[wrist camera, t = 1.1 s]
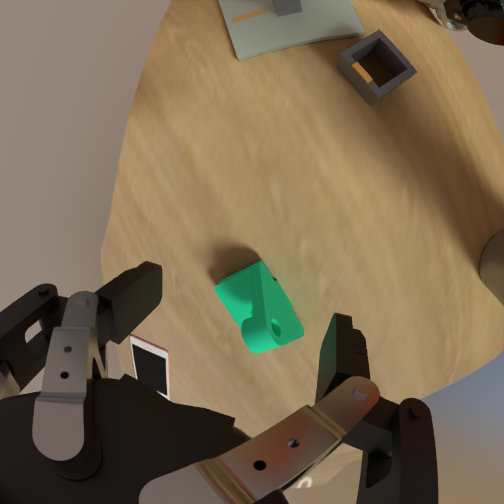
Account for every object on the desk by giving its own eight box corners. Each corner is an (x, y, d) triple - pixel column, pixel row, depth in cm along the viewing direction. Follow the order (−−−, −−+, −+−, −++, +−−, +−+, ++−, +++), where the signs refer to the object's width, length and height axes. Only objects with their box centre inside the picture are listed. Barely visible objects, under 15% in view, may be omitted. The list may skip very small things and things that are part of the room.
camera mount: (218, 278, 39) (188, 318, 30) (263, 256, 36) (243, 295, 27) (260, 340, 41) (244, 388, 32) (304, 325, 38) (297, 375, 29)
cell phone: (139, 385, 56) (137, 387, 55) (131, 332, 49) (129, 335, 48) (171, 400, 55) (169, 402, 54) (169, 349, 48) (167, 352, 47)
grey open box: (371, 45, 23) (379, 28, 18) (404, 82, 24) (418, 71, 19) (336, 67, 25) (339, 52, 20) (369, 105, 26) (379, 97, 21)
